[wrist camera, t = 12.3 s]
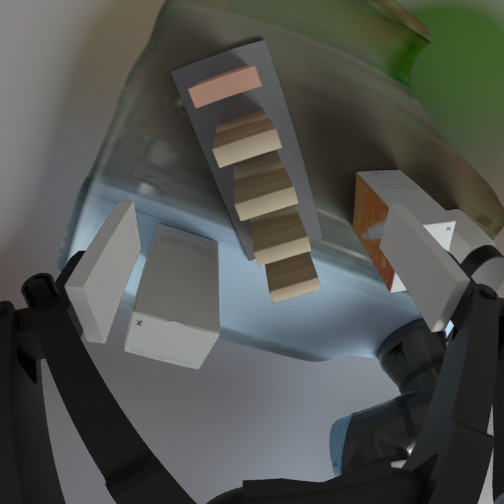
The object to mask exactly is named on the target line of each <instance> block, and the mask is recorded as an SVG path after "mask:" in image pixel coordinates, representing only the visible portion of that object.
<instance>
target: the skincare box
mask: <svg viewBox="0 0 504 504" xmlns="http://www.w3.org/2000/svg"><path fill="white" fill-rule="evenodd" d="M219 335H220V322H219V270H218V242H216V241H212V240H209V239H206V238H203V237H200V236H197V235H194V234H191V233H188V232H185V231H182V230H179V229H176V228H173V227H170V226H167V225H164V224H159V225H158V227H157V230H156V233H155V235H154V238H153V241H152V244H151V247H150V250H149V253H148V256H147V259H146V262H145V265H144V268H143V272H142V275H141V279H140V282H139V286H138V290H137V293H136V297H135V301H134V304H133V308H132V312H131V316H130V321H129V325H128V330H127V336H126V342H125V348H124V351H127V352H130V353H134V354H137V355H141V356H145V357H149V358H152V359H156V360H160V361H164V362H168V363H172V364H176V365H181V366H185V367H189V368H193V369H199V368H200V366H201V365H202V363H203V362H204V360H205V358H206V357H207V355H208V353H209V352H210V350H211V348H212V347H213V345H214V343H215V342H216V340H217V338H218V336H219Z"/></svg>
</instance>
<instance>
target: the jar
mask: <svg viewBox="0 0 504 504" xmlns="http://www.w3.org/2000/svg"><path fill="white" fill-rule="evenodd" d="M447 212H448V213H449V214H450V215H451V216H452V217H453V218H454V219H455V220H456V223H455V227H454V231H453V236H452V240H451V243H450V248H449V252H450V253H451V254H452V255H453V256H454V257H455V258H456V259H457V260H458V261H459V262H458V263H460V264H461V265H462V266H463V268H464V269H465V270H466V271H467V272H468V273H469V275H470V276H471V277H472V278H473V280H474V281H475V282H476V283H477V284H485V285H487V286H489V287H491V288H492V289H493V290H494V291H496V290H497V289H498V288H499V286H500V285H501V283H502V282H503V280H504V256H503V255H502V254H501V253H500V252H499V251H498V250H497V249H496V248H495V243H494V242H493V241H492V240H491V239H490V238H489V237H488V236H487V235H486V234H485V233H484V232H483V231H482V230H481V229H480V228H479V227H478V226H477V225H476V224H475V223H474V222H473V221H472V220H471V219H470V218H469V217H467V216H466V215H465V214H464V213H463V212H462V211H461V210H460V209H454V210H447Z"/></svg>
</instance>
